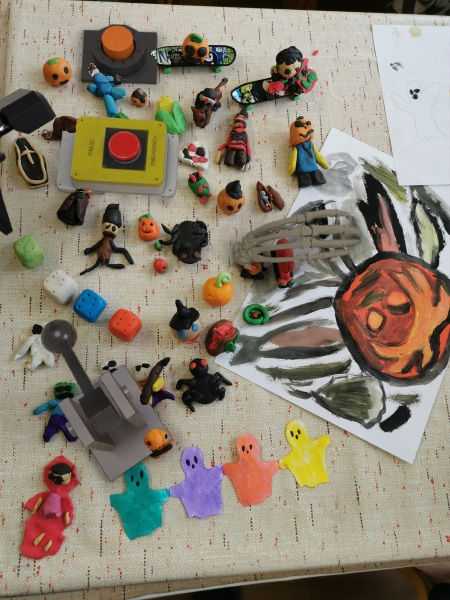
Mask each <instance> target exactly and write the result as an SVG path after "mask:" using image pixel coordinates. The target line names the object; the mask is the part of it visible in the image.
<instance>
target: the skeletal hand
mask: <svg viewBox="0 0 450 600" xmlns="http://www.w3.org/2000/svg"><path fill="white" fill-rule="evenodd" d="M342 217H345V219H347V220H350V218H351V213H350V212H349V211H345V210H340V209H338V208H335V209H334V208H333V209H332V208H327V209H319V210H314V211H305V212H304V213H301V214H298V213H295V214H294V215H292V216H289V217H284V218H281V219H277V220H273V221H269V222H268V223H265V224H262V225H261V226H259V227H257V228H255V229H254V230H251V231H249V232H247V233H246V234H245V235H243V236H242V238H241V242H234V243H233V246H232V252H233V254H234V255H233V261H234V263H235V264H237V265H240V266H243V268H244V269H245V270H247V269H248V268H250V267H251V264H252V262H253V263H273V264H274V263H275V264H276V263H287V262H298V263H300V262H302V263H303V262H305V261H306V262H307V263H310V262H312V261H316V260H327V259H331V258H335V259H336V258H338V257H344V256H347V255H352V254H353V251H352V250H349V249H344V248H346V247H349V246H351V247H352V246H356V245H357V244H359V243H361V242H360V241H361V240H360V239H362V235H361V234H362V233H361V231H360V230H359V229H358V228H356V227H352V226H348V225H346V224H336V223H335V224H324V225H323V224H322V225H321V224H320V225H319V224H318V225H316V224H314V223H313V224H310V225H303V223H308V224H309V223H310V222H312V221H313V220H314V219H325V218H335V219H338V218H342ZM292 223H294V224H296V225H298V227H292V226H290V224H292ZM278 230H285V231H280V232H276V233H273V232H275V231H278ZM263 234H267V235H265V236H262V237H260V235H263ZM336 234H338V235H339V236H341V235H342V236H344V237H345V236H347V235H355V238H351V239H345V238H343V237H342V238H339V239H328V240H327V239H325V240H323V239H316V237H317V236H320V235H336ZM258 237H259V238H258ZM288 237H300V239H299V240H297V241H293V242H292V241H291V242H287V243H285V242H284V243H279V244H272V245H263V246H262V244H264V243H266V242H270V241H274V240H278V239H282V238H288ZM308 237H309V238H308ZM356 238H359V239H356ZM260 245H261V246H260ZM306 248H309V249H311V250H313V249H315V248H321V249H332V250H329V251H328V250H327V251H323V252H318V253H317V252H316V253H309V252H306V253H305V254H303V253H299V254H297V255H295V256H284V257H283V256H282V257H281V256H279V257H271V256H270V257H269V256H263V255H261V254H262V253H267V252H273V251H280V250H289V249H291V250H292V249H301V250H304V249H306ZM338 248H339V249H338ZM251 272H255V271H251Z"/></svg>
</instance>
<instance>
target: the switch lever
mask: <svg viewBox="0 0 450 600" xmlns="http://www.w3.org/2000/svg"><path fill="white" fill-rule="evenodd" d="M40 341H41V345H42V346H43V348H44V349H45V350H46V351H47V352H48V353H50V354H53V355H61V356H62V357H63V360H64V362H65V363H66V365H67V367H68V368H69V371H70V373H71V374H72V376H73V378H74V380H75V382H76V383H77V385H78V387H79V389H80V391H81V393H83V395H84V396H83V397H82V398H80V399H79V400H78V401H79V403H80V405H81V407H82V409H83V411H84V413H85V415H86V417H87V419H88V421H89V422H90V423H91V424H92V426H93V427H94V428H95V429H96V431H97V432H98V433H99V434H100V435H102V434H103V433H105V432H106V431H108V430H109V429H111V428H112V427H114V426H115V425H117V424H118V423H120V422H121V421H122V420H121V418H120V416H119V414H118V413H117V411H116V409H115V408H114V406H113V404H112V403H111V401H110V399H109V398H108V397H107V395H106V394H105V393H104V391H103V390H102V388H101V387H100V386H99V387H97V388H95V387H94V383H93V381H92V380H91V378H90V376H89V374H88V373H87V371H86V369H85V368H84V366H83V364H82V362H81V361H80V359H79V356H78V355H77V353H76V352H75V350H74V347H75V346H76V344H77V341H78V331H77V329H76V327H75V326H74V324H73V323H72V322H70V321H68V320H66V319H62V318H55V319H52V320H50V321H48V322H47V323H46V324H45V325H44V327H43V328H42V330H41V333H40Z"/></svg>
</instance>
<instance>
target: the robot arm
mask: <svg viewBox="0 0 450 600" xmlns="http://www.w3.org/2000/svg"><path fill="white" fill-rule="evenodd" d="M56 117H57V115H56V113H55V110H53V107H52V105H51V104H50V102H49V101H48V99H47V98H46V97H45V96H44V94H43V93H42V92H40V91H36V90H34V89H27V88H20V87H19V88H18V89H16V90H14V91H13V92H11V93H9V94H7V95H6V96H4V97H2V98H1V99H0V139H1V138H3V137H4V136H6V135H7V134H9V133H11V132H12V131H14V132H18V133H22V134H26V135H31V134H33V133H34V132H36V131H38V130H39V129H40V128H42V127H44V126H45V125H47V124H48V123H51V122H52V121H53V120H54V119H55V118H56ZM6 159H7V155H6V154H5V152H4V151H1V150H0V164H2V163H3V162H5V161H6ZM1 188H2V187H0V233H2V234H3V235H4V236H6V237H7V236H9V235H10V234H11V233H13V232H14V228H13V225H12V222H11V219H10V215H9V213H8V212H9V211H8V209H7V207H6V203H5V200H4V196H3V193H2V189H1Z"/></svg>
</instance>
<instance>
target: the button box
mask: <svg viewBox="0 0 450 600" xmlns="http://www.w3.org/2000/svg"><path fill="white" fill-rule="evenodd" d="M112 26H122V27H125V28H126V29H128V30H129V31H130V32H131V34H132V37H133V44H134V50H133V53H132V54H131V55H130V56H129V57H128V58H126V59H123V60H114V59H111V58H110V57H108V56H107V55H106V54H105V52H104V48H103V43H102V35H103V33H104V31H105V30H106V29H108V28H110V27H112ZM156 49H157V50H158V32H157V31H139V30H137V29H135V28H133V27H132V26H130V25H128V24H123V23H122V24H120V23H119V24H118V23H113V24H109V25H107V26H105V27H102V28H100V29H84V30H83V39H82V54H81V55H82V56H81V76H80V80H81V83H95V80H93V79H92V76H91V75H90V74H89V72H88V67H89V64H90V63H93V64H94V65H95V66H96V68H97V69H98V70H99V72H100V73H102V74H103V75H105V76H113V75H115V74H118V75H119V76H121V78H120V81H109V82H110V83H109V84H137V85H139V84H140V85H157V84H158V58H157V59H155V56H153V54H152V55H151V51H153V50H156Z"/></svg>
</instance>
